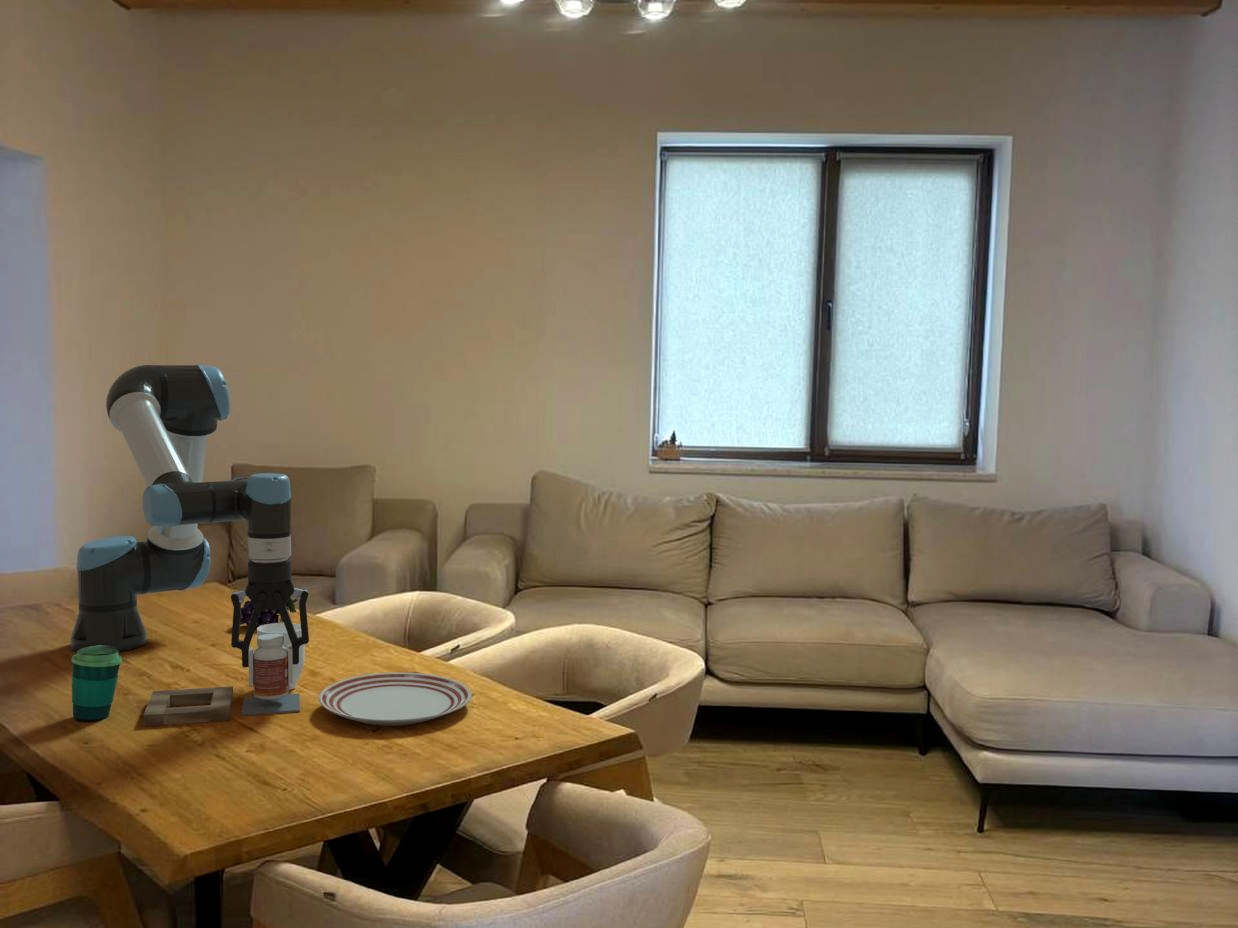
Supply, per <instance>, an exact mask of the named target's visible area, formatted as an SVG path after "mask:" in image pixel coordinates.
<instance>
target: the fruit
mask: <svg viewBox="0 0 1238 928" xmlns="http://www.w3.org/2000/svg"><path fill="white" fill-rule="evenodd" d="M296 602H298V601H297V600H296V598H295V599H292V597H290V598H289V600H288V601H287V602H286V606H287V610H288V611H289V612H290V613H291V614H295V613H296V614H297V609H296V607H295V606H296V605H295V603H296ZM243 604H244V605H243V606H242V607H241V616H240V626H242V625H246V626H247V627H248V625H249V622H250V619H251V616H252V613H253V610H254V607H255V605H254V604H253V603H252V601H251V600H250V599H248V600H246V601H244V602H243ZM273 623H284V622H283V619H282V617H281V614H280V612H279V610H272V609H268V610H262V611H261V613H260V616H259V618H258V621H257V624H256V627H257V626H262V625H266V624H273Z"/></svg>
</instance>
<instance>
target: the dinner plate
mask: <svg viewBox="0 0 1238 928" xmlns="http://www.w3.org/2000/svg"><path fill="white" fill-rule="evenodd" d="M471 699H472V692H471V689H469V688H468V686H467V685H465V684H464V683H461V682H460V681H458V680H455V679H452V678H449V677H446V676H441V675H435V674H430V673H421V672H419V673H417V672H402V671H400V672H398V671H397V672H378V673H370V674H362V675H358V676H351V677H348V678H345V679H342V680H340V681H337V682H334V683H332V684H330V685H328V686H327V687H325V688H323V690H322V691H321V692H320V694H319V695H318V702H319V704H320V705H321V706H322V707H323V708H324V709H326V710H327V711H329V712H331V713H333V714H335V715H337V716H339V717H342V718H345V719H348V720H351V721H356V722H358V723H362V724H367V725H373V726H388V727H389V726H405V725H412V724H413V725H414V724H418V723H424V722H426V721H430V720H434V719H436V718H440V717H443V716H446V715H448V714H450V713H453V712H455V711H457V710H460V709H462V708H464V706H466V705H467V704H468V703H470V700H471Z"/></svg>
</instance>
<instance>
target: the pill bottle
mask: <svg viewBox="0 0 1238 928" xmlns="http://www.w3.org/2000/svg"><path fill="white" fill-rule="evenodd" d="M256 637H257V636H256ZM283 644H284V636H283V635H281V634H264V635H260V636H258V637H257V638H256V645H258V646H259V648H257V647H256V649H254V650H253V681H254V684H253V695H254V696H255V697H256V698H259V699H265V700H272V699H278V698H282V697H284V696H286V695H287V694H289V691H290V690H289V684H288V650H287V649H286V648H285V647H283V646H282V645H283Z"/></svg>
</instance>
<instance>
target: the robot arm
mask: <svg viewBox="0 0 1238 928" xmlns="http://www.w3.org/2000/svg"><path fill="white" fill-rule="evenodd" d="M105 401H106V405H105V408H106V413H107V416H108V418H109V421H110V423H111V425H112V426H113V428H115V429H116V430H117V431H118V432H121V434H122V436H123V437H124V440H125V441H126V444H127V447H128V448H129V450H130V453H131V454H132V457H133V459H134V461H135V463H136V465H137V467H138V469H139V472H140V474H141V475H142V479H143V480H144V482H145V484H146V486H147V487H145V489H144V491H143V493H142V510H143V513H144V518H145V521H146V522H147V524H149V526H151V528H150V529H148V532H147V536H146V538H147V539H146V540H144V541H137V539H136V538H135V536H132V535H119V536H118V535H117V536H115V535H114V536H109V537H104V538H103V537H102V538H98V539H96V540H92V541H89V542H87V543H84V544H83V545H82V546H81V547H79V549H78V551H77V560H76V561H77V562H76V567H75V568H76V570H77V593H78V594H77V596H78V597H77V598H78V601H77V602H78V614H77V617H76V620H75V623H74V627H73V629H72V633H71V636H70V649H71V650H72V651H74V652H77V651H78V650H79V649H82V648H85V647H90V646H97V645H110V646H115V647H116V648H117V651H118V653H119V652H124V651H130V650H133V649H136V648H139V647H140V648H141V647H142V646H144V645H145V644H146V643H147V640H148V639H147V631H146V628H145V625H144V622H143V620H142V616H141V615H140V612H139V610H138V595H147V594H155V593H163V592H171V591H180V592H181V591H185V590H188V589H195V588H198V587H200V586H201V585H202V584H204V583H205V581H206V580H207V578H208V574H209V572H210V568H211V548H210V547H211V546H210V543H209V542H208V540H207V539H206V537H204V534H203V533H202V531H201V530H200V529H199V528H198V527H199V526H198V524H206V523H207V524H210V523H211V524H212V523H222V522H223V523H226V522H235V521H236V522H237V521H247V525H246V526H247V532H246V533H247V557H248V558H249V559H250V560H249V561H248V562H247V585H246V587H245V589H243V590H241V591H232V592H231V595H230V601H231V603H232V607H233V612H232V626H231V627H232V628H231V643H230V646H231V647H232V648H234V649H235V648H236V649H239V650H241V666H242V668H248V686H249V687H254V681H253V653H254V646H251V647H250V645H251V641H252V639H253V636H254V632H255V630H256V627H257V626H256V624H257V621H258V618H259V616H260V613H261V611H262V610H268V609H272V610H279V612H280V614H281V617H282V619H283V623H284V625H285V628H286V630H287V633H288V636H289V639H290V641H291V644H292V645H288V684H291V683H293V664H298V663H299V647H300V646H301V645H303V644H305V645H306V644H308V643H309V642H310V637H309V636H310V635H309V624H308V612H307V601H308V597H309V590H308V589H307V588H302V589H301V588H297V587H295V586H294V585H293V581H292V560H291V559H290V558H289V557H291V555H292V533H291V527H292V525H291V522H292V521H291V519H292V518H291V517H292V515H291V514H292V512H291V509H292V506H291V501H292V499H291V498H292V491H291V481H290V478H289V476H288V475H286V474H285V473H275V472H264V473H254V474H251V475H249V476H248V477H235V478H233V479H231V480H224V481H223V480H222V481H204V474H205V468H206V467H205V466H206V456H207V451H208V450H207V448H208V442H209V441H208V440H209V437H210V436H211V435H213V434H214V433H216V431H217V428H218V422H219V421H220V422H221V421H224V420H227V419H228V417H229V414H230V410H231V409H230V408H231V403H230V393H229V388H228V384H227V381H226V378H225V377H224V375H223V373H222V371H221V370H220V369H219V368H218V367H216V366H213V365H200V364H195V365H193V364H190V365H189V364H188V365H187V364H185V365H182V364H181V365H180V364H179V365H178V364H173V365H172V364H170V365H169V364H167V365H166V364H165V365H164V364H159V365H158V364H156V365H155V364H143V365H141V364H140V365H138V366H135V367H132V368H130V369H128V370H126V371H124V372H123V373H122V374H120V375H118V377H117V378H116V380H115V381H114V382H113V383H112V384H111V386H110V388H109V390H108V393H107V395H106V400H105ZM292 595H294V596H295V599H296V600H297V601H296V602H298V609H299V610H298V611H299V620H300V621H299V622H300V625H301V633H302V636H301V637H299V638H298V637H297V635H296V632H295V629H294V626H293V622H292V618H291V616H290V613H289V612H290V611H289V610H287V606H286V602H287V601H288V600H289V598H292ZM245 597H248V600H249V601H252V603H253V604H254V605H255V607H254V610H253V613H252V616H251V619H250V622H249V625H248V626H247V629H246V632H245V635H244V638H243V639H240V630H241V629H240V628H241V625H240V616H241V608H242V604H244V603H245ZM280 614H279V615H280Z"/></svg>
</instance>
